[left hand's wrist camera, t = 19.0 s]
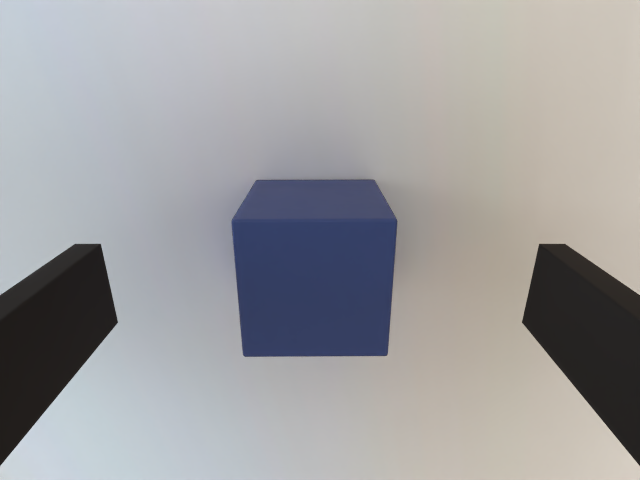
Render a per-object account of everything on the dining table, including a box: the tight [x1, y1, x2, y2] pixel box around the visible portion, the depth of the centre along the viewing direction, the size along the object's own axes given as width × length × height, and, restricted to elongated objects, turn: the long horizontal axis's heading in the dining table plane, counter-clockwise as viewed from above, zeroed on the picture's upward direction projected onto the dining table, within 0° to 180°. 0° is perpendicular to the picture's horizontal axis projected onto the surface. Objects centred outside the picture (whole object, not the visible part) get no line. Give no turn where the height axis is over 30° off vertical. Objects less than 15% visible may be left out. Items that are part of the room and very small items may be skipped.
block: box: [232, 180, 397, 357], centre depth 15 cm, size 5×5×5 cm
